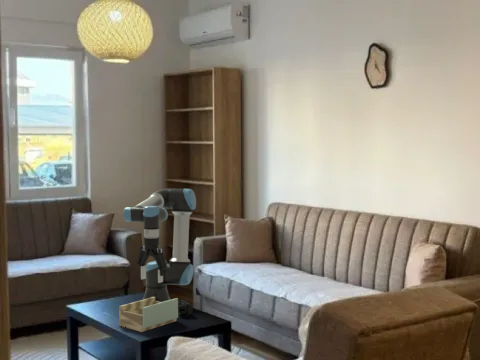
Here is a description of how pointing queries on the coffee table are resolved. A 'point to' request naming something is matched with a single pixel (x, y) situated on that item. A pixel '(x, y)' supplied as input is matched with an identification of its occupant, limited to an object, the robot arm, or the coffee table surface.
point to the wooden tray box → (137, 315)
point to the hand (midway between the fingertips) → (151, 280)
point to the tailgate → (160, 312)
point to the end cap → (184, 309)
